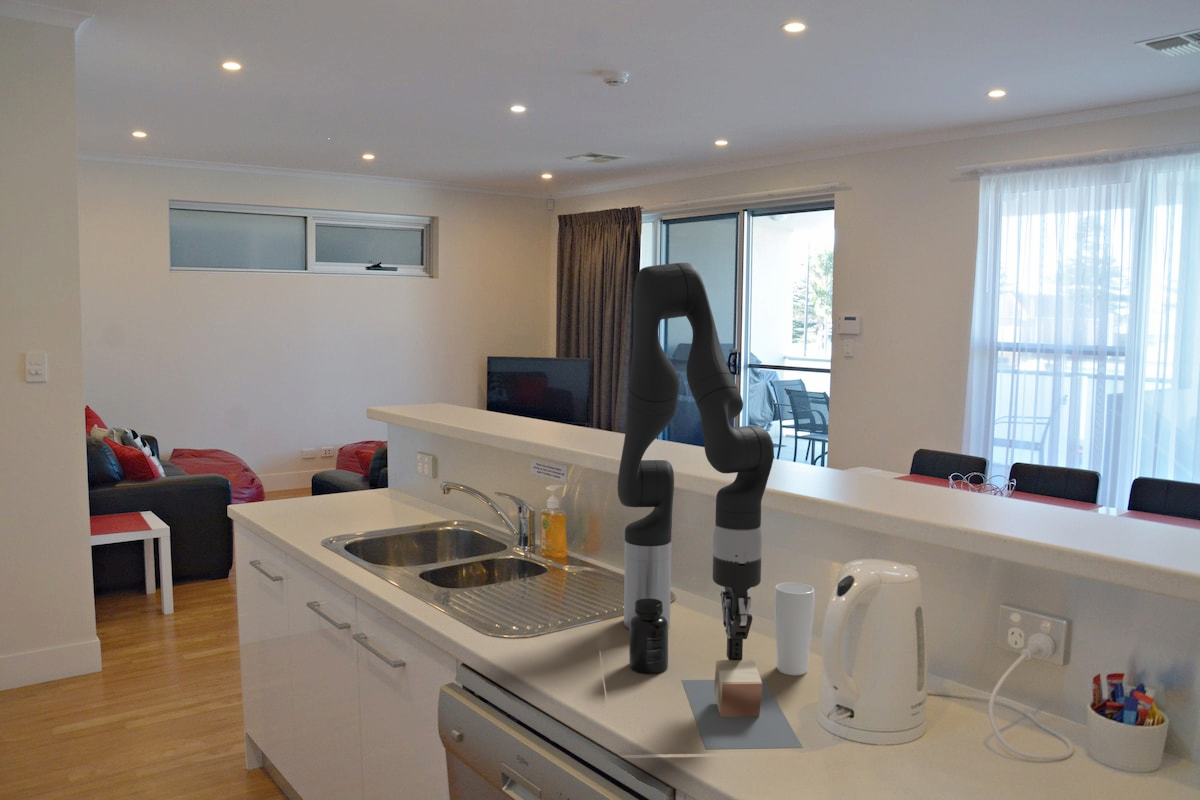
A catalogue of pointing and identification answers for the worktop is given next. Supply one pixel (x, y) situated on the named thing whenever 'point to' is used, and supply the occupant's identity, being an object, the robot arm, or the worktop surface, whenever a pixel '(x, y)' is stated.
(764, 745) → the slate mat
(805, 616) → the drinking glass
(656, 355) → the robot arm
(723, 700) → the birch cube
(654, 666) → the supplement bottle
